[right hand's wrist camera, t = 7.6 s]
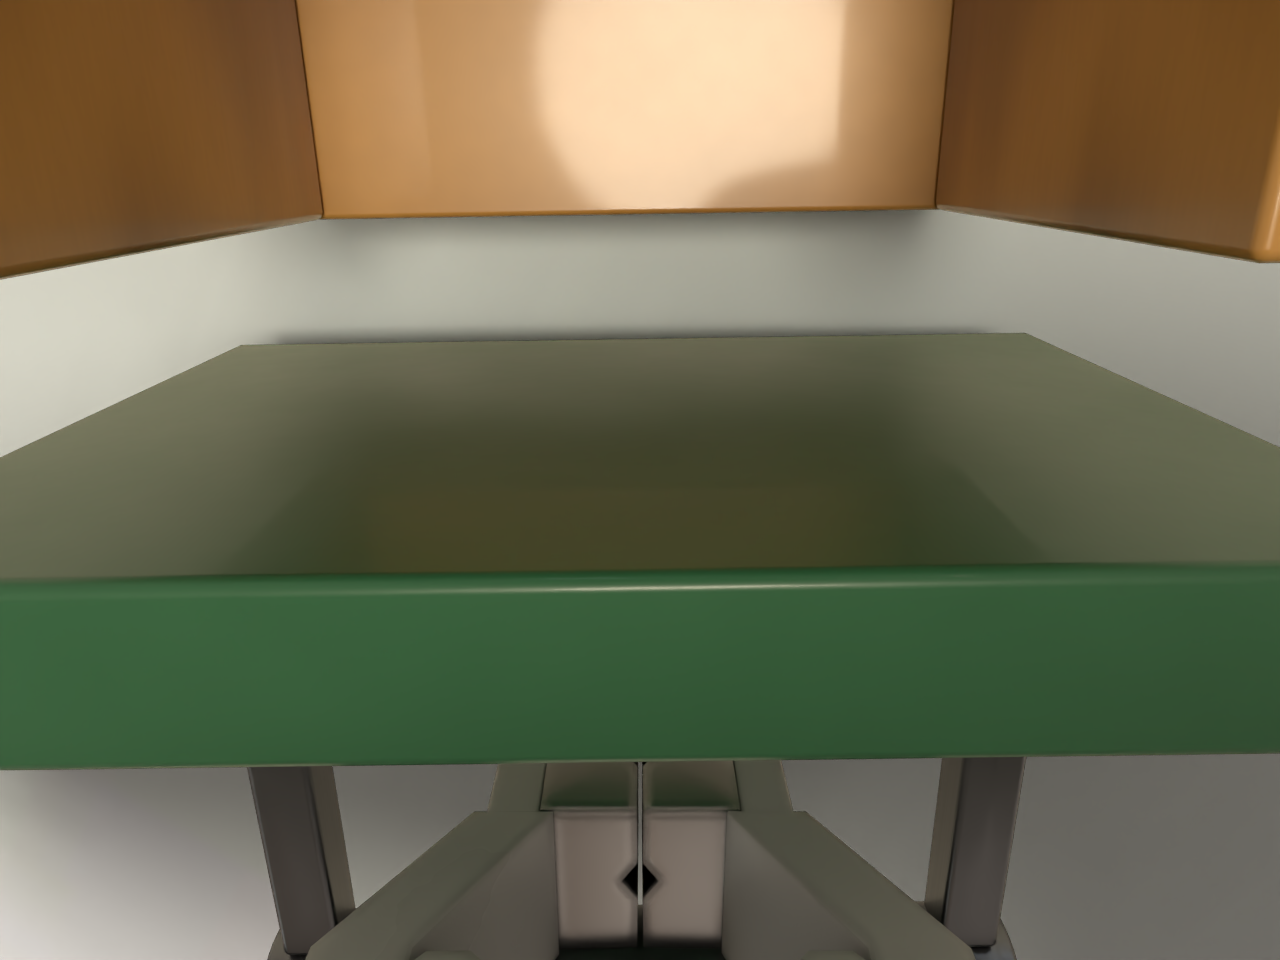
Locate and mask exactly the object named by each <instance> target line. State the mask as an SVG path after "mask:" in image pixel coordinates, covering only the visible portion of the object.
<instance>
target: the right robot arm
mask: <svg viewBox="0 0 1280 960" xmlns="http://www.w3.org/2000/svg"><path fill="white" fill-rule="evenodd" d="M642 873H643V947H650V948H722V954H723V956H724V958H725V959H726V960H976V959H975V957H974V954H973V952H972V949H971V948H970V947H969V946H968V945H967V944H965V943H964V942H963V941H962V940H960V939H959V938H958V937H957V936H956V935H954V934H953V933H952V932H951V931H950V930H948V929H947V928H946V927H945V926H944V925H942V924H941V923H940V922H939V921H938V920H936V919H935V918H934V917H933V916H932V915H930V914H929V913H928V912H927V911H926V910H924V909H923V908H922V907H921V906H919V905H918V904H917V903H916V902H915V901H913V900H912V899H911V898H910V897H909V896H907V895H906V894H905V893H904V892H903V891H901V890H900V889H899V888H898V887H897V886H895V885H894V884H893V883H892V882H891V881H889V880H888V879H887V878H886V877H884V876H883V875H882V874H881V873H880V872H878V871H877V870H876V869H875V868H874V867H872V866H871V865H870V864H869V863H868V862H866V861H865V860H864V859H863V858H862V857H860V856H859V855H858V854H857V853H856V852H854V851H853V850H852V849H851V848H850V847H848V846H847V845H846V844H845V843H843V842H842V841H841V840H840V839H839V838H837V837H836V836H835V835H834V834H833V833H831V832H830V831H829V830H828V829H827V828H825V827H824V826H823V825H822V824H821V823H819V822H818V821H817V820H816V819H815V818H813V817H812V816H811V815H810V814H808V813H807V812H805V811H793V808H792V803H791V799H790V795H789V791H788V787H787V783H786V778H785V774H784V770H783V766H782V762H781V760H743V761H667V762H642ZM637 917H638V762H591V763H516V764H498V767H497V771H496V776H495V780H494V784H493V788H492V793H491V797H490V801H489V805H488V810H487V811H475V812H473V813H472V814H471V815H470V816H468V817H467V818H466V819H465V820H464V821H462V822H461V823H460V824H459V825H458V826H456V827H455V828H454V829H453V830H451V831H450V832H449V833H448V834H447V835H445V836H444V837H443V838H442V839H441V840H439V841H438V842H437V843H436V844H434V845H433V846H432V847H431V848H430V849H428V850H427V851H426V852H425V853H424V854H422V855H421V856H420V857H419V858H418V859H416V860H415V861H414V862H413V863H411V864H410V865H409V866H408V867H407V868H405V869H404V870H403V871H402V872H401V873H399V874H398V875H397V876H396V877H395V878H393V879H392V880H391V881H390V882H388V883H387V884H386V885H385V886H384V887H382V888H381V889H380V890H379V891H378V892H376V893H375V894H374V895H373V896H372V897H370V898H369V899H368V900H367V901H365V902H364V903H363V904H362V905H361V906H359V907H358V908H357V909H356V910H355V911H353V912H352V913H351V914H350V915H348V916H347V917H346V918H345V919H344V920H342V921H341V922H340V923H339V924H338V925H336V926H335V927H334V928H333V929H332V930H330V931H329V932H328V933H327V934H325V935H324V936H323V937H322V938H321V939H319V940H318V941H317V942H316V943H315V944H313V945H312V946H311V947H310V950H309V952H308V954H307V957H306V959H305V960H555V959H556V958H557V956H558V955H559V950H560V949H594V948H628V947H637Z"/></svg>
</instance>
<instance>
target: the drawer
mask: <svg viewBox="0 0 1280 960" xmlns="http://www.w3.org/2000/svg"><path fill="white" fill-rule="evenodd" d="M936 209H941V210H945V211H951V212H957V213H963V214H969V215H975V216H981V217H987V218H992V219H998V220H1004V221H1010V222H1016V223H1022V224H1028V225H1034V226H1040V227H1046V228H1052V229H1058V230H1064V231H1070V232H1076V233H1082V234H1088V235H1094V236H1100V237H1106V238H1112V239H1118V240H1124V241H1130V242H1136V243H1142V244H1148V245H1154V246H1159V247H1165V248H1171V249H1177V250H1183V251H1189V252H1195V253H1201V254H1207V255H1213V256H1219V257H1225V258H1231V259H1237V260H1243V261H1249V262H1255V263H1280V0H0V280H1V279H7V278H12V277H17V276H22V275H28V274H33V273H38V272H44V271H49V270H54V269H60V268H65V267H70V266H76V265H81V264H86V263H91V262H97V261H102V260H107V259H113V258H118V257H123V256H129V255H134V254H139V253H145V252H150V251H155V250H160V249H166V248H171V247H176V246H182V245H187V244H192V243H198V242H203V241H208V240H214V239H219V238H224V237H229V236H235V235H240V234H245V233H251V232H256V231H261V230H267V229H272V228H277V227H283V226H288V225H293V224H298V223H304V222H309V221H314V220H317V219H374V218H436V217H499V216H561V215H623V214H686V213H748V212H811V211H873V210H936ZM1272 753H1280V447H1278V446H1275V445H1273V444H1271V443H1269V442H1267V441H1264V440H1262V439H1260V438H1258V437H1255V436H1253V435H1251V434H1249V433H1247V432H1244V431H1242V430H1240V429H1238V428H1235V427H1233V426H1231V425H1229V424H1227V423H1224V422H1222V421H1220V420H1218V419H1215V418H1213V417H1211V416H1209V415H1207V414H1204V413H1202V412H1200V411H1198V410H1195V409H1193V408H1191V407H1189V406H1187V405H1184V404H1182V403H1180V402H1178V401H1175V400H1173V399H1171V398H1169V397H1167V396H1164V395H1162V394H1160V393H1158V392H1155V391H1153V390H1151V389H1149V388H1147V387H1144V386H1142V385H1140V384H1138V383H1135V382H1133V381H1131V380H1129V379H1126V378H1124V377H1122V376H1120V375H1118V374H1115V373H1113V372H1111V371H1109V370H1106V369H1104V368H1102V367H1100V366H1098V365H1095V364H1093V363H1091V362H1089V361H1086V360H1084V359H1082V358H1080V357H1078V356H1075V355H1073V354H1071V353H1069V352H1066V351H1064V350H1062V349H1060V348H1058V347H1055V346H1053V345H1051V344H1049V343H1046V342H1044V341H1042V340H1040V339H1038V338H1035V337H1033V336H1031V335H1029V334H1026V333H993V334H928V335H863V336H798V337H733V338H668V339H603V340H538V341H473V342H408V343H343V344H278V345H240V346H238V347H236V348H234V349H232V350H230V351H227V352H225V353H223V354H221V355H219V356H217V357H215V358H213V359H210V360H208V361H206V362H204V363H202V364H200V365H198V366H195V367H193V368H191V369H189V370H187V371H185V372H183V373H180V374H178V375H176V376H174V377H172V378H170V379H168V380H165V381H163V382H161V383H159V384H157V385H155V386H153V387H150V388H148V389H146V390H144V391H142V392H140V393H138V394H135V395H133V396H131V397H129V398H127V399H125V400H123V401H120V402H118V403H116V404H114V405H112V406H110V407H108V408H105V409H103V410H101V411H99V412H97V413H95V414H93V415H90V416H88V417H86V418H84V419H82V420H80V421H78V422H75V423H73V424H71V425H69V426H67V427H65V428H63V429H60V430H58V431H56V432H54V433H52V434H50V435H48V436H45V437H43V438H41V439H39V440H37V441H35V442H33V443H30V444H28V445H26V446H24V447H22V448H20V449H18V450H15V451H13V452H11V453H9V454H7V455H5V456H3V457H0V770H62V769H137V768H213V767H247V769H248V774H249V779H250V784H251V789H252V794H253V799H254V804H255V809H256V814H257V819H258V823H259V828H260V833H261V838H262V843H263V848H264V853H265V858H266V863H267V868H268V873H269V878H270V883H271V888H272V892H273V897H274V902H275V907H276V912H277V917H278V922H279V927H280V930H279V931H278V933H277V935H276V938H275V940H274V942H273V945H272V947H271V950H270V953H269V956H268V959H267V960H305V959H306V957H307V954H308V952H309V950H310V947H311V946H312V945H313V944H315V943H316V942H317V941H318V940H319V939H321V938H322V937H323V936H324V935H325V934H327V933H328V932H329V931H330V930H332V929H333V928H334V927H335V926H336V925H338V924H339V923H340V922H341V921H342V920H344V919H345V918H346V917H347V916H348V915H350V914H351V913H352V912H353V911H355V910H356V909H357V908H355V902H354V896H353V890H352V884H351V878H350V872H349V865H348V859H347V853H346V847H345V841H344V835H343V829H342V822H341V816H340V810H339V804H338V798H337V792H336V786H335V779H334V773H333V767H332V766H364V765H440V764H516V763H591V762H667V761H743V760H818V759H894V758H942V764H941V772H940V780H939V788H938V796H937V804H936V813H935V821H934V829H933V837H932V845H931V853H930V861H929V870H928V878H927V886H926V894H925V901H915V902H916V903H917V904H918V905H919V906H921V907H922V908H923V909H924V910H926V911H927V912H928V913H929V914H930V915H932V916H933V917H934V918H935V919H936V920H938V921H939V922H940V923H941V924H942V925H944V926H945V927H946V928H947V929H948V930H950V931H951V932H952V933H953V934H954V935H956V936H957V937H958V938H959V939H960V940H962V941H963V942H964V943H965V944H967V945H968V946H969V947H970V948H971V949H972V952H973V954H974V957H975V959H976V960H1017V959H1016V955H1015V952H1014V949H1013V946H1012V944H1011V941H1010V938H1009V936H1008V933H1007V931H1006V929H1005V927H1004V925H1003V923H1002V921H1001V919H1000V916H1001V910H1002V904H1003V897H1004V891H1005V885H1006V879H1007V873H1008V867H1009V860H1010V854H1011V848H1012V842H1013V836H1014V830H1015V823H1016V817H1017V811H1018V805H1019V799H1020V792H1021V786H1022V780H1023V774H1024V768H1025V762H1026V757H1045V756H1121V755H1196V754H1272ZM555 960H726V959H725V958H724V956H723V954H722V948H650V947H643V905H638V917H637V947H628V948H594V949H560V950H559V955H558V956H557V958H556V959H555Z"/></svg>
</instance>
